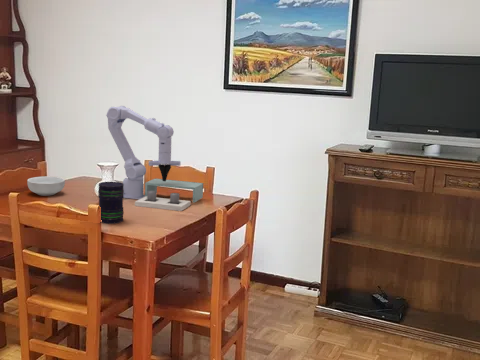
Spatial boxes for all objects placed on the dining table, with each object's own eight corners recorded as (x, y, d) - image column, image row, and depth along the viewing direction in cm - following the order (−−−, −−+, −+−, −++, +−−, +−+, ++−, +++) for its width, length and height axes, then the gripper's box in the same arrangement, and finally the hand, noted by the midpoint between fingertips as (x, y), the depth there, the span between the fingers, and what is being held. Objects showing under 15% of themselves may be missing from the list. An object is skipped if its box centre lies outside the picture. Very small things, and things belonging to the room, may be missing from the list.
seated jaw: (168, 207, 253) (169, 194, 252) (171, 205, 257) (172, 192, 256) (177, 208, 252) (177, 195, 251) (180, 206, 256) (180, 193, 255)
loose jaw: (145, 204, 256) (146, 191, 255) (149, 203, 260) (149, 190, 259) (153, 205, 255) (154, 192, 254) (157, 204, 259) (157, 191, 258)
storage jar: (127, 222, 225) (127, 185, 222) (103, 224, 220) (103, 187, 217) (118, 216, 233) (118, 180, 231) (94, 218, 228) (94, 182, 225)
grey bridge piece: (144, 197, 266) (145, 182, 265) (155, 192, 278) (155, 178, 277) (194, 202, 261) (195, 187, 259) (202, 197, 272) (203, 183, 271)
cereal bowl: (20, 193, 267) (20, 178, 265) (52, 189, 279) (52, 174, 278) (39, 199, 256) (39, 184, 255) (72, 194, 268) (72, 180, 267)
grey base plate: (134, 205, 253) (134, 201, 252) (145, 200, 264) (145, 196, 264) (181, 211, 248) (181, 206, 247) (190, 205, 259) (190, 201, 259)
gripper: (150, 153, 256) (149, 182, 258) (181, 153, 260) (181, 182, 262) (148, 150, 262) (147, 179, 265) (179, 151, 266) (178, 179, 269)
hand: (164, 180), depth 264 cm, fingers closed
